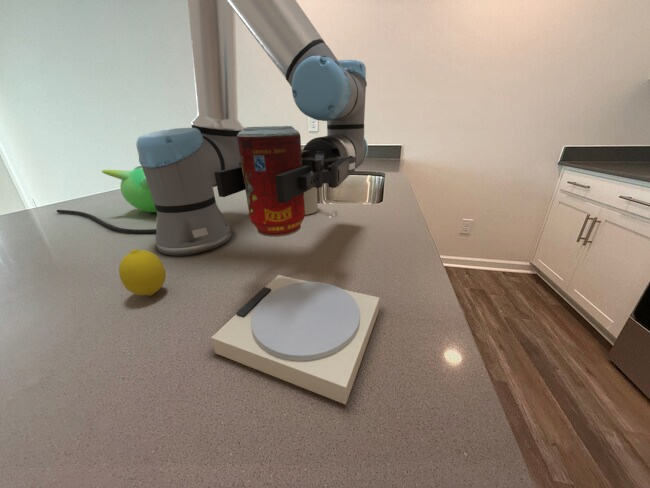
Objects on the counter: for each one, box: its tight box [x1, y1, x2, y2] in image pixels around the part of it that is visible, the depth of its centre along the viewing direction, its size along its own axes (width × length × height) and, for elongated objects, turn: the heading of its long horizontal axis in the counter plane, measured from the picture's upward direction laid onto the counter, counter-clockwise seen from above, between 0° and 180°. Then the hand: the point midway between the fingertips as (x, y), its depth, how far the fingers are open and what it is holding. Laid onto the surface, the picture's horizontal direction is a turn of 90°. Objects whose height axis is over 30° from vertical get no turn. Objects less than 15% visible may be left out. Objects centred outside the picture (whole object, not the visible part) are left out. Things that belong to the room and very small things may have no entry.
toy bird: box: [101, 165, 157, 213], centre depth 77 cm, size 18×17×15 cm
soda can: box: [237, 125, 306, 238], centre depth 31 cm, size 7×7×12 cm
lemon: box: [118, 248, 167, 297], centre depth 39 cm, size 6×6×8 cm
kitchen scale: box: [210, 274, 380, 406], centre depth 32 cm, size 16×14×3 cm
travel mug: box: [301, 145, 319, 216], centre depth 73 cm, size 8×8×18 cm
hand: (248, 187), depth 27 cm, fingers closed on soda can, 7 cm apart
